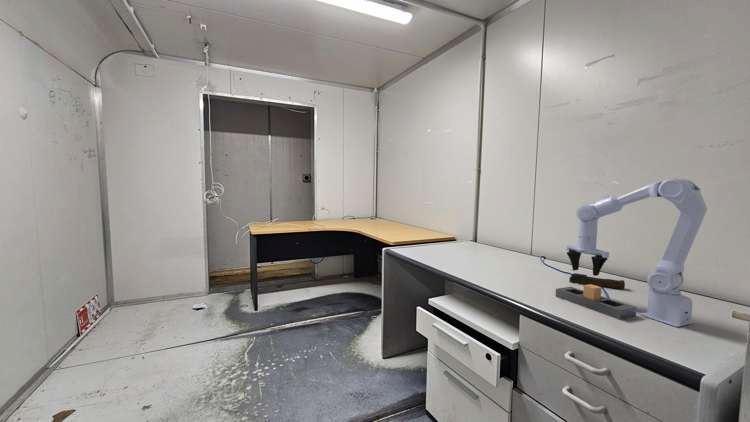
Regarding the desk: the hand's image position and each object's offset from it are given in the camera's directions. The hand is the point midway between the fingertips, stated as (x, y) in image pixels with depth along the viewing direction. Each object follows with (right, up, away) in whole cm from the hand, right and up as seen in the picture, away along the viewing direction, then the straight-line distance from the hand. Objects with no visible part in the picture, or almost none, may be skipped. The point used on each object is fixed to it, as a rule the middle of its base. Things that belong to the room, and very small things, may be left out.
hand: (585, 272), depth 113 cm
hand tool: (+14, -9, +14) cm, 22 cm away
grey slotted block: (-3, -10, -8) cm, 13 cm away
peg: (-4, -10, -8) cm, 13 cm away
